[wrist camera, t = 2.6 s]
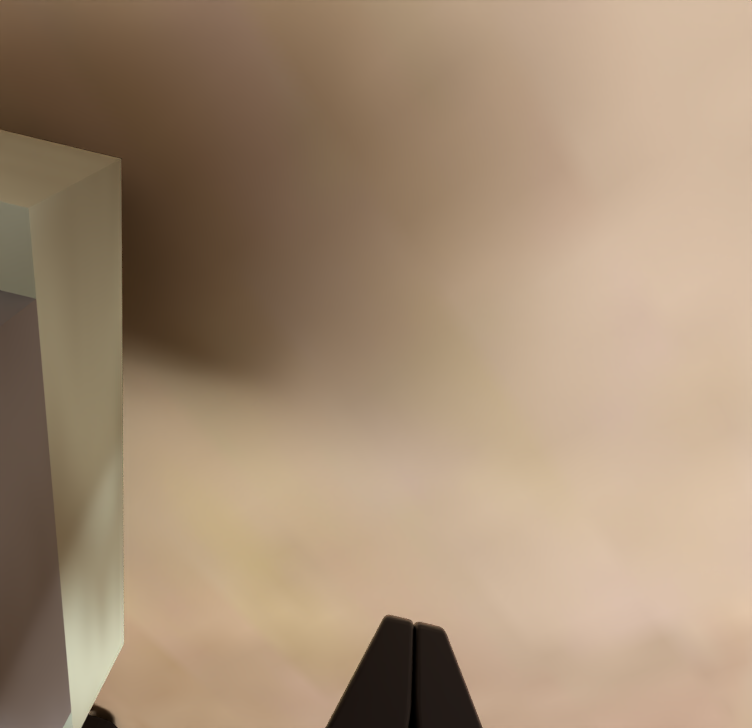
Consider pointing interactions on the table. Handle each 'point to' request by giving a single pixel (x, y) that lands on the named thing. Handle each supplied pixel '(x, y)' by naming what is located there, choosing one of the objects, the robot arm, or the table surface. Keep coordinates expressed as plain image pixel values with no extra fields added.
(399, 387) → the table surface
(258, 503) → the table surface
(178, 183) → the table surface
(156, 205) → the table surface
